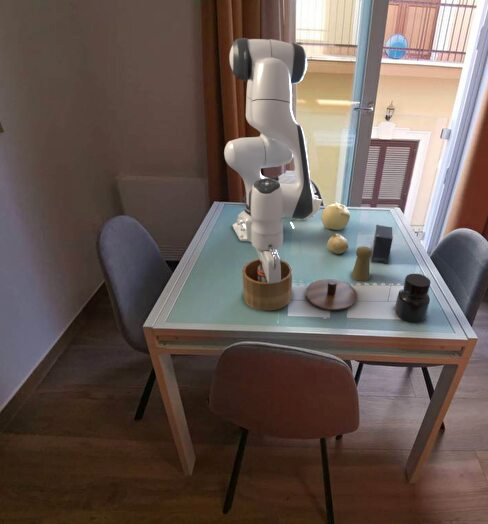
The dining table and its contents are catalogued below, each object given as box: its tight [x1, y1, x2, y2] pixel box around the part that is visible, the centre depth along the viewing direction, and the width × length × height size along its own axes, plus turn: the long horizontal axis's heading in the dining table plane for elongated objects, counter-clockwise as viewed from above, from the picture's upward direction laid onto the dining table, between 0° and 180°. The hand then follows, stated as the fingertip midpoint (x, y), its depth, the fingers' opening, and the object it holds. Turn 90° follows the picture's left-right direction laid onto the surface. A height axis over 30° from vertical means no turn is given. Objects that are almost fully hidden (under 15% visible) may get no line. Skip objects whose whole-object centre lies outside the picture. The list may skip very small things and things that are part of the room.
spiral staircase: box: [277, 169, 323, 221], centre depth 165 cm, size 18×18×25 cm
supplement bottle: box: [258, 261, 267, 282], centre depth 107 cm, size 6×6×11 cm
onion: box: [326, 233, 349, 255], centre depth 136 cm, size 8×8×7 cm
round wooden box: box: [241, 258, 293, 312], centre depth 108 cm, size 15×15×10 cm
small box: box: [370, 224, 394, 264], centre depth 133 cm, size 11×6×10 cm, turn 168°
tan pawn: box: [351, 245, 372, 282], centre depth 120 cm, size 6×6×11 cm
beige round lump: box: [321, 202, 351, 231], centre depth 154 cm, size 11×12×11 cm
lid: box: [305, 278, 358, 311], centre depth 111 cm, size 16×16×5 cm
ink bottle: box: [394, 272, 432, 323], centre depth 103 cm, size 10×9×12 cm
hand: (267, 279), depth 107 cm, fingers closed on supplement bottle, 6 cm apart
